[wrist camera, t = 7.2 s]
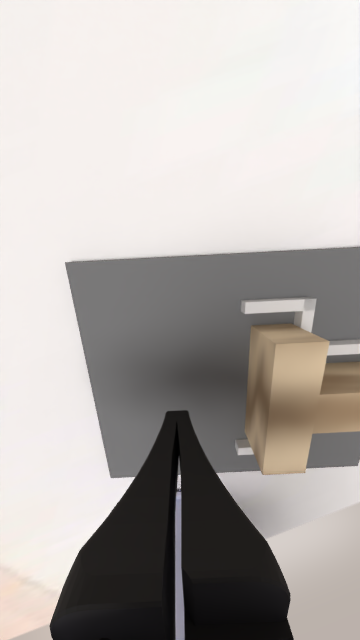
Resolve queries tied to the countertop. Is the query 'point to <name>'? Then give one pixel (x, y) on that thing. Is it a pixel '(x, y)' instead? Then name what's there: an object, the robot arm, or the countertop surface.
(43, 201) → the countertop surface
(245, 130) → the countertop surface
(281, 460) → the maple t block
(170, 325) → the nest mat
